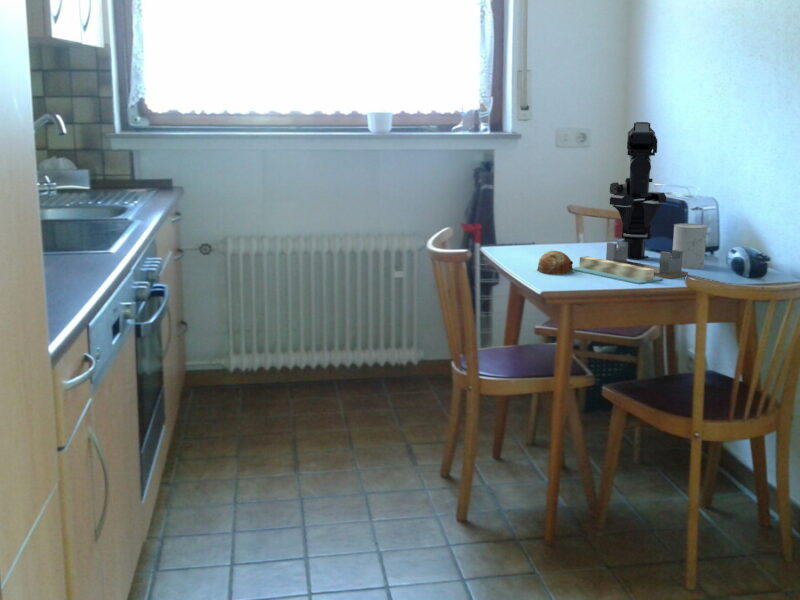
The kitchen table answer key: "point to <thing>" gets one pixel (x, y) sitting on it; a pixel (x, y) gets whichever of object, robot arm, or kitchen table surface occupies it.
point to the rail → (617, 268)
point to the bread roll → (555, 263)
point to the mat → (614, 276)
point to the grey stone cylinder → (690, 244)
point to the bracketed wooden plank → (667, 269)
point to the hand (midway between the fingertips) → (636, 227)
